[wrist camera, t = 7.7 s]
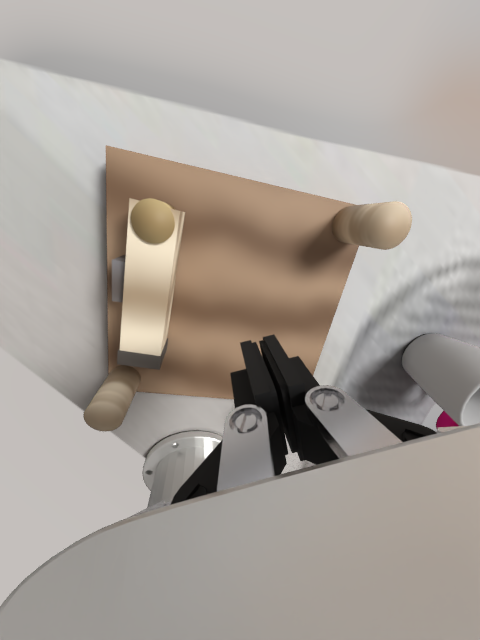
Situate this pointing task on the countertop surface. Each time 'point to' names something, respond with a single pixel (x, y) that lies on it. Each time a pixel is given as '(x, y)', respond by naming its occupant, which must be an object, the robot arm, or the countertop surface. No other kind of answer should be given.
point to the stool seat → (232, 273)
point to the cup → (447, 374)
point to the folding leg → (149, 281)
